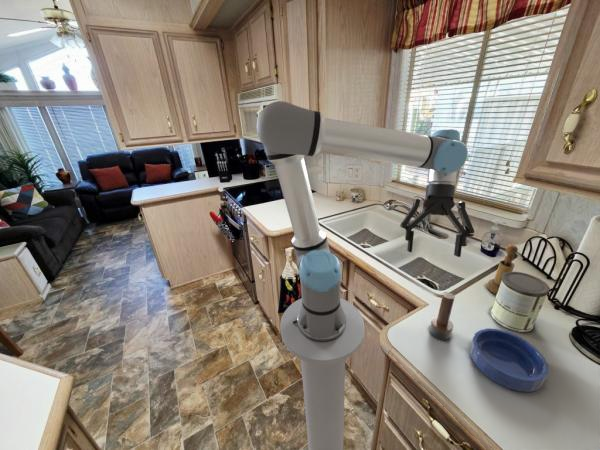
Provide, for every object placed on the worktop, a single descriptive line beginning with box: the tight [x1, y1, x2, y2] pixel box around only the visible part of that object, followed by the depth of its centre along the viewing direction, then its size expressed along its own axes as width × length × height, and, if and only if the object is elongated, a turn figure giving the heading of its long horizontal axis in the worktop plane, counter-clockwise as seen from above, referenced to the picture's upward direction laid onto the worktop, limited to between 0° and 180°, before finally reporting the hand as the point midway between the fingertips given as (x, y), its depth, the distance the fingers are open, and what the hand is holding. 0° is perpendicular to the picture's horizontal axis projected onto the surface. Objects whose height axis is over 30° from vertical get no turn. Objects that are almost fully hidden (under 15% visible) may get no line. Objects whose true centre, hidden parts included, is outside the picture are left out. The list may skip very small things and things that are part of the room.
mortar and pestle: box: [486, 244, 519, 295], centre depth 85 cm, size 7×6×18 cm
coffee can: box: [490, 271, 551, 333], centre depth 73 cm, size 10×10×14 cm
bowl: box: [469, 328, 549, 393], centre depth 62 cm, size 15×15×4 cm
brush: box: [429, 291, 456, 341], centre depth 70 cm, size 6×6×14 cm
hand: (432, 253), depth 76 cm, fingers open, 13 cm apart
